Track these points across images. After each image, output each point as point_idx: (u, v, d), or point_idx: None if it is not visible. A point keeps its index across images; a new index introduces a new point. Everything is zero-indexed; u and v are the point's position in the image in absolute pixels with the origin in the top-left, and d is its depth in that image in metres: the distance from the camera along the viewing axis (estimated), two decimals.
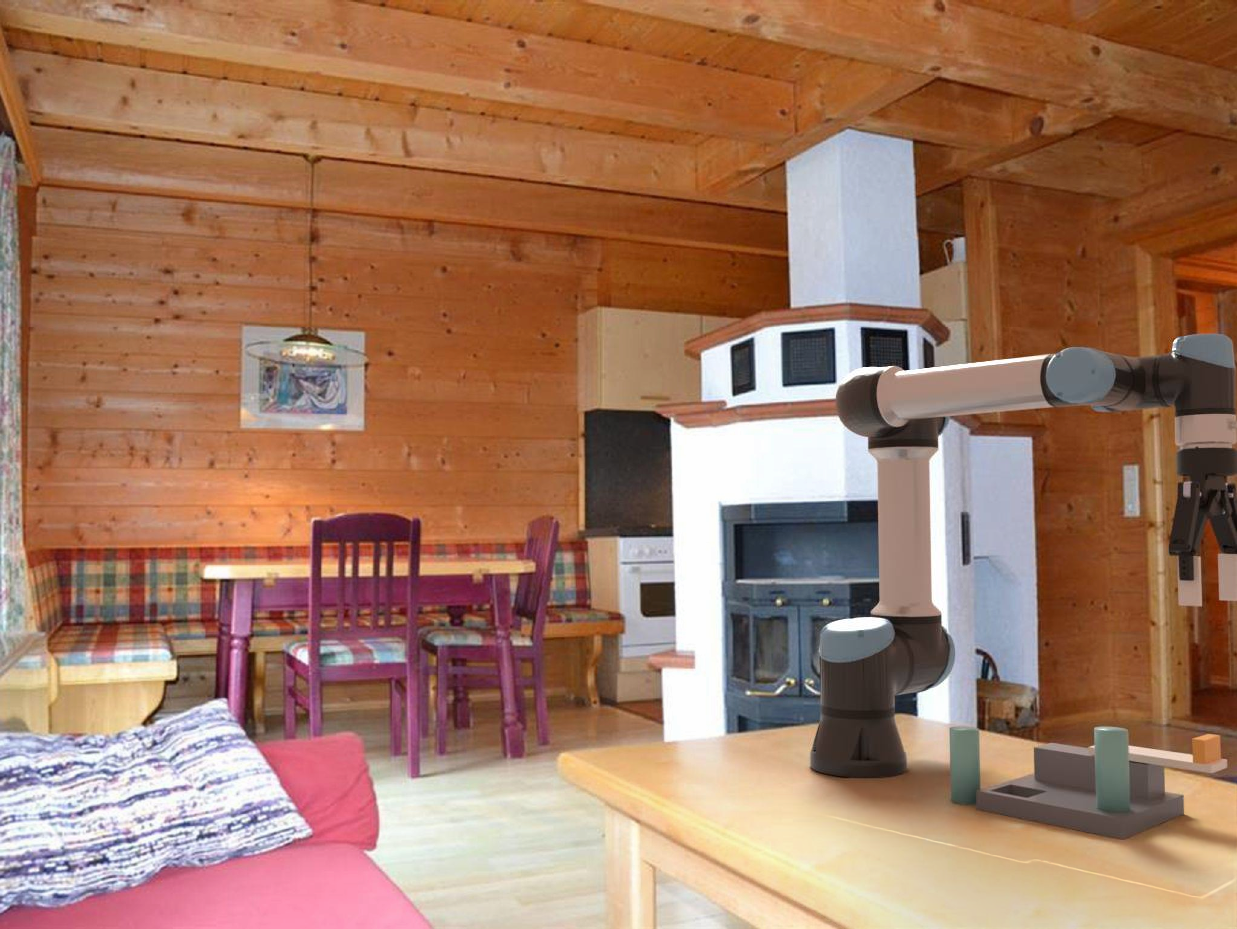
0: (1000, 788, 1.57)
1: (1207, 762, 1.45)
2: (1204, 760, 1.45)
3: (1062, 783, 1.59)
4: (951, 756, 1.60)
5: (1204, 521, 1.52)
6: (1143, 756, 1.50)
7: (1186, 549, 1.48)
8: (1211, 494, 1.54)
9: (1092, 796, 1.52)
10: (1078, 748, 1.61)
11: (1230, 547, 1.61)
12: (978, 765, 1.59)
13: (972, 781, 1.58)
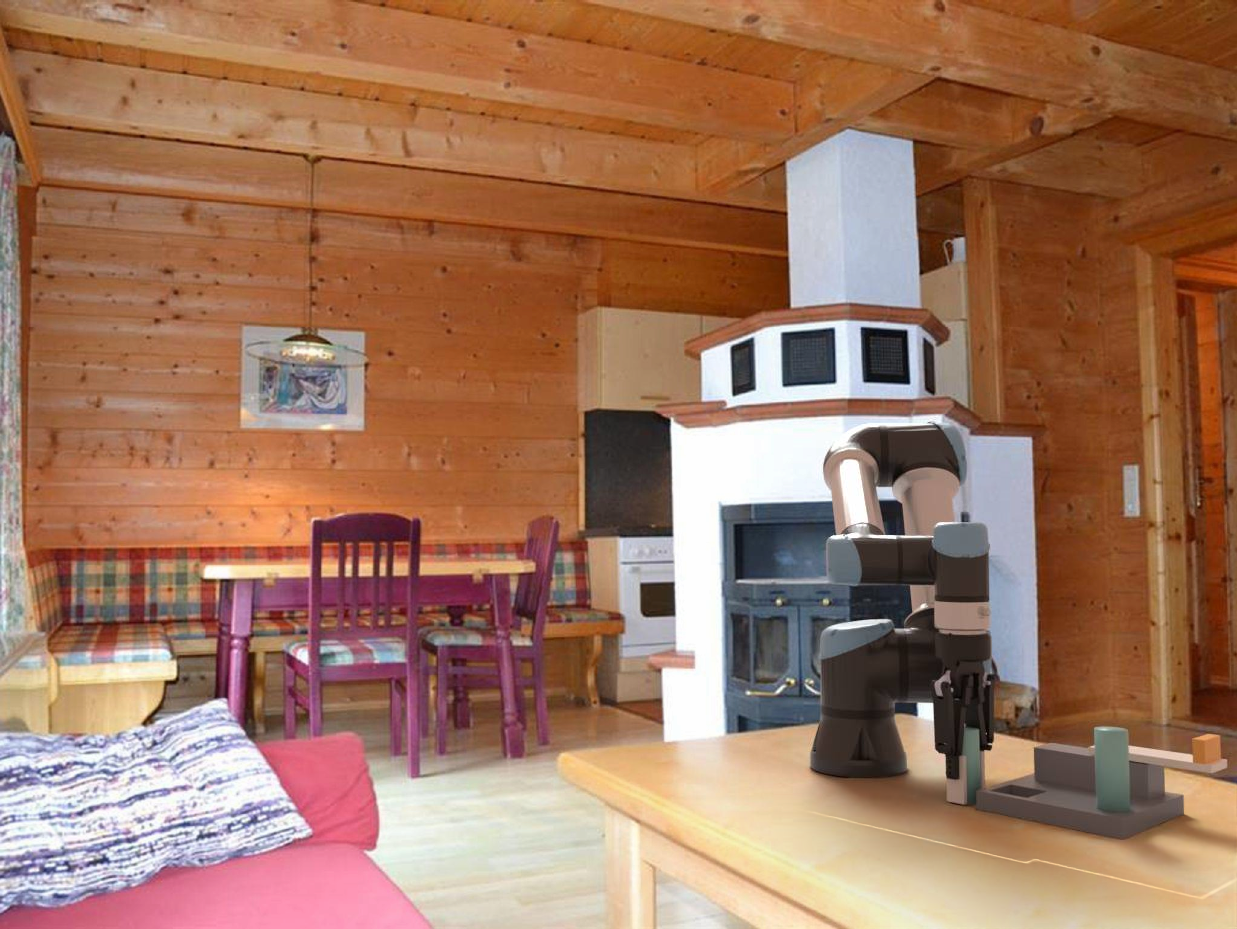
0: (1000, 788, 1.57)
1: (1207, 762, 1.45)
2: (1204, 760, 1.45)
3: (1062, 783, 1.59)
4: None
5: (963, 714, 1.58)
6: (1143, 756, 1.50)
7: (950, 753, 1.56)
8: (964, 682, 1.58)
9: (1092, 796, 1.52)
10: (1078, 748, 1.61)
11: None
12: (978, 765, 1.59)
13: (972, 781, 1.58)
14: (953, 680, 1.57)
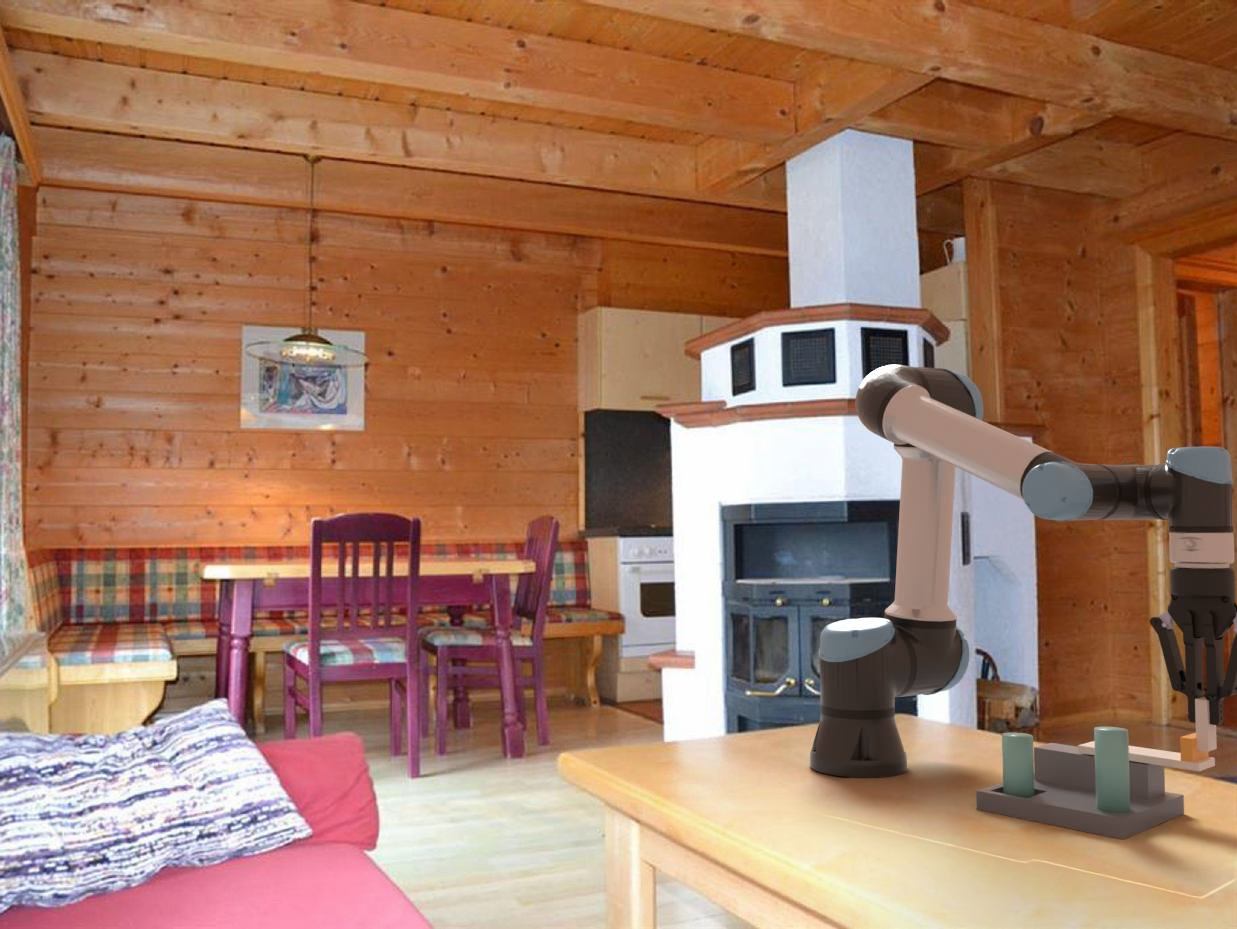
0: (1000, 788, 1.57)
1: (1195, 760, 1.46)
2: (1191, 758, 1.46)
3: (1062, 783, 1.59)
4: None
5: (1190, 652, 1.48)
6: (1132, 754, 1.52)
7: (1175, 690, 1.49)
8: None
9: (1092, 796, 1.52)
10: None
11: None
12: (1012, 773, 1.54)
13: (1005, 787, 1.55)
14: (1170, 615, 1.50)
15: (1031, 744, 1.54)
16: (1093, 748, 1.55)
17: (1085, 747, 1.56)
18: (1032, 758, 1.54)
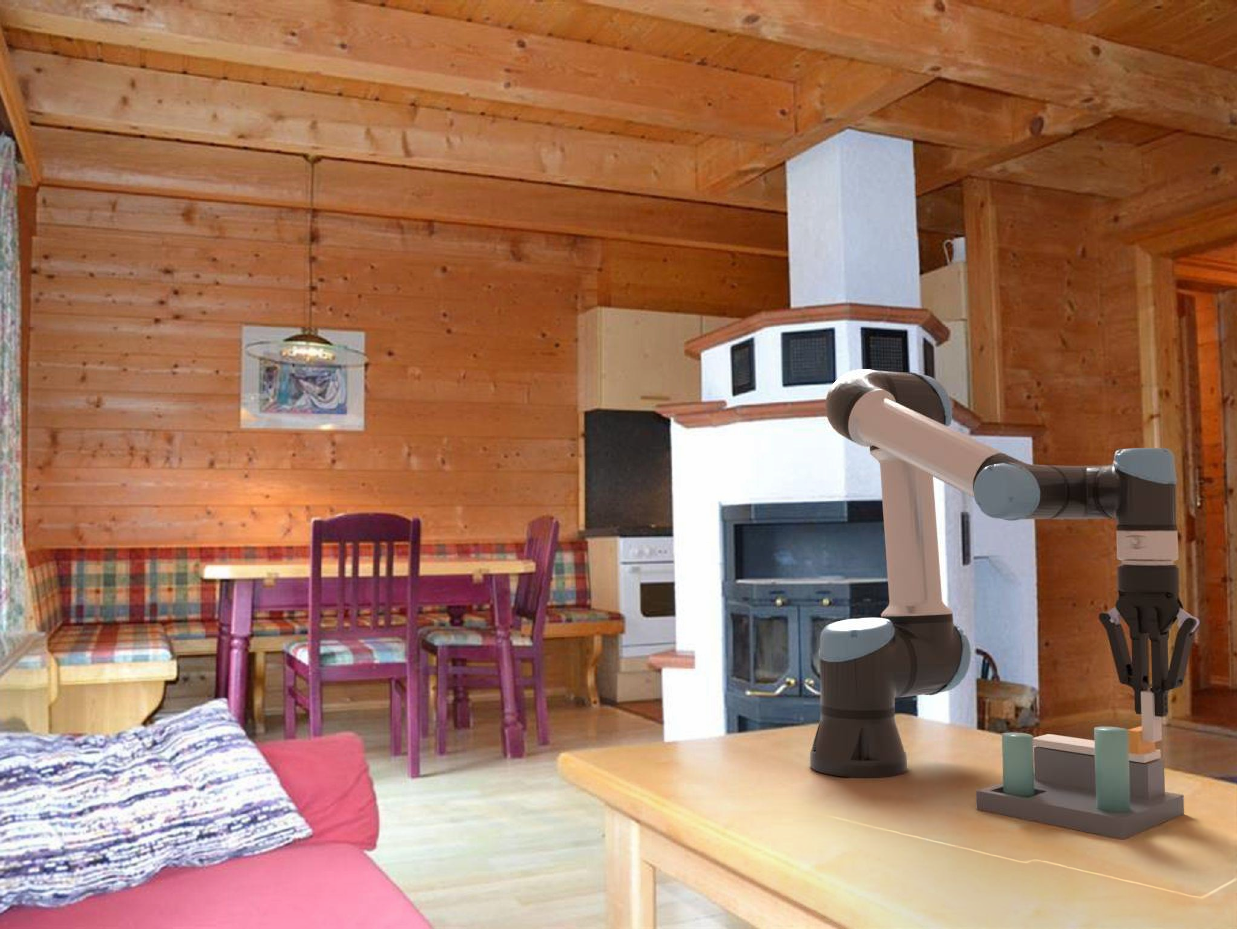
0: (1000, 788, 1.57)
1: (1140, 752, 1.51)
2: (1137, 750, 1.51)
3: (1062, 783, 1.59)
4: None
5: (1136, 647, 1.53)
6: (1081, 747, 1.57)
7: (1123, 683, 1.54)
8: None
9: (1092, 796, 1.52)
10: None
11: None
12: (1012, 773, 1.54)
13: (1005, 787, 1.55)
14: (1118, 610, 1.55)
15: (1031, 744, 1.54)
16: (1045, 741, 1.61)
17: (1038, 740, 1.61)
18: (1032, 758, 1.54)
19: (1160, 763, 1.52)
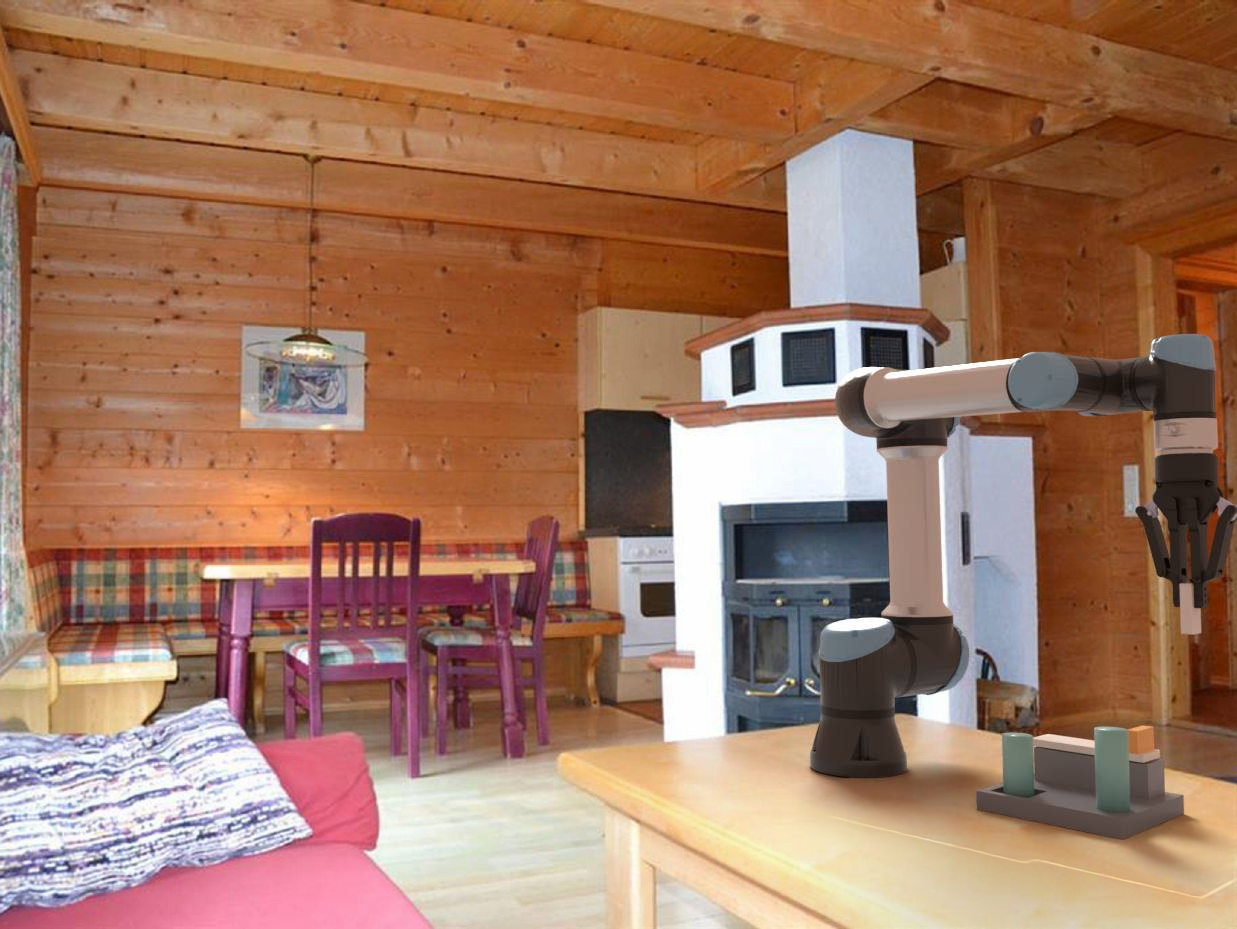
0: (1000, 788, 1.57)
1: (1140, 752, 1.51)
2: (1136, 750, 1.51)
3: (1062, 783, 1.59)
4: None
5: (1175, 538, 1.49)
6: (1081, 747, 1.57)
7: None
8: None
9: (1092, 796, 1.52)
10: None
11: None
12: (1012, 773, 1.54)
13: (1005, 787, 1.55)
14: (1155, 503, 1.52)
15: (1031, 744, 1.54)
16: (1044, 741, 1.61)
17: (1037, 740, 1.62)
18: (1032, 758, 1.54)
19: (1160, 763, 1.52)
